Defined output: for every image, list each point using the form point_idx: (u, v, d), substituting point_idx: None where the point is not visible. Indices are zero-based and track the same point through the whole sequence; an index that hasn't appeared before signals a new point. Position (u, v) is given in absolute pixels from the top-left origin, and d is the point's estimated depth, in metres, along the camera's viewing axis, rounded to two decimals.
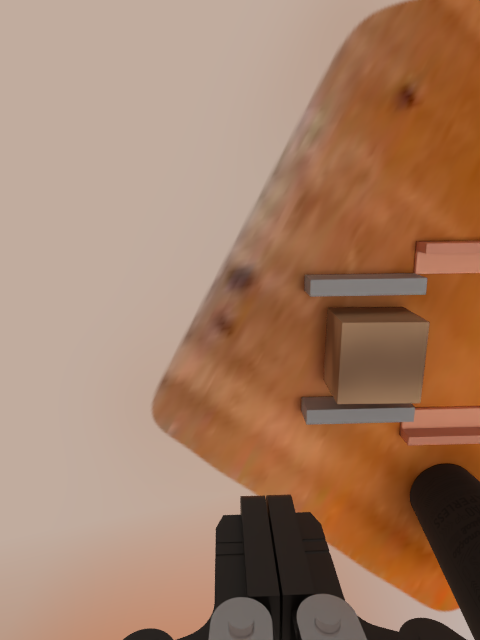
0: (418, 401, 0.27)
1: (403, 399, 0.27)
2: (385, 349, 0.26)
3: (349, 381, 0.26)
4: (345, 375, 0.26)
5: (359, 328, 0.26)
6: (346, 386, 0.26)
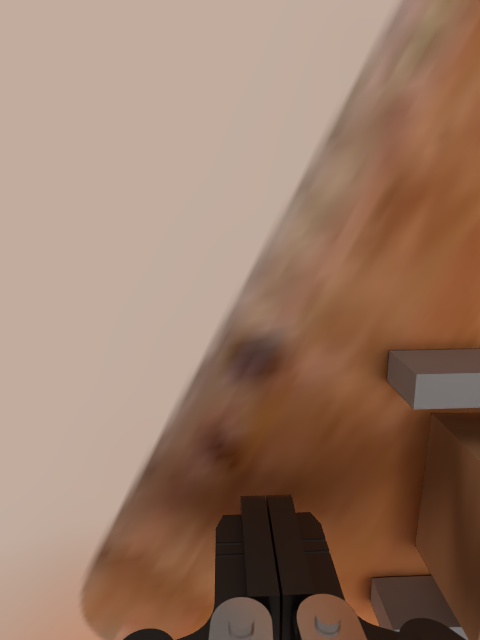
0: None
1: None
2: None
3: None
4: None
5: None
6: None
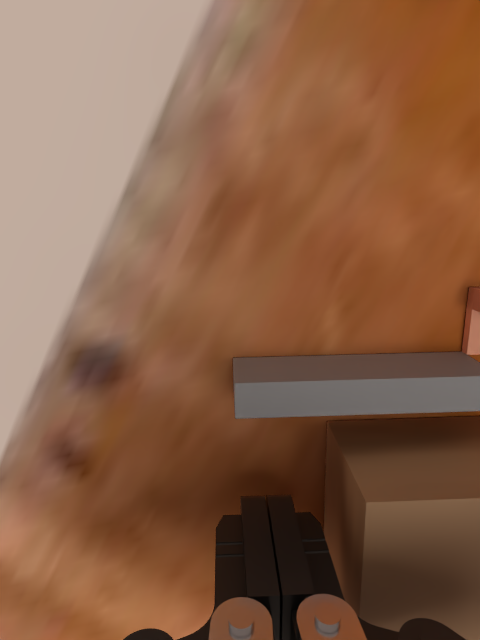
0: None
1: None
2: (470, 557, 0.11)
3: (384, 625, 0.11)
4: (374, 614, 0.11)
5: (408, 513, 0.10)
6: None
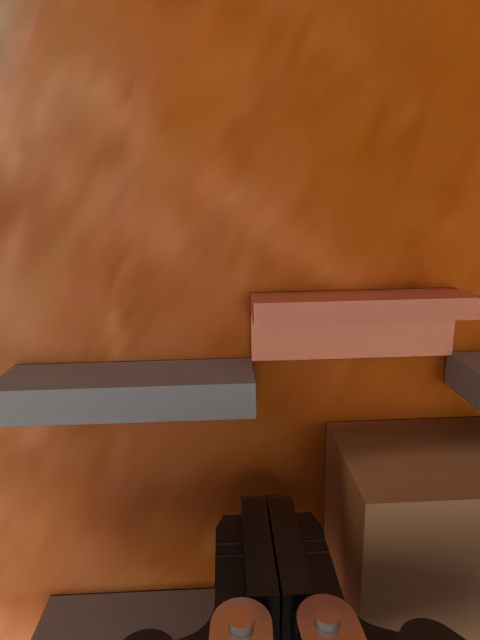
0: None
1: None
2: (470, 558, 0.11)
3: (384, 627, 0.11)
4: (374, 615, 0.11)
5: (407, 515, 0.10)
6: None
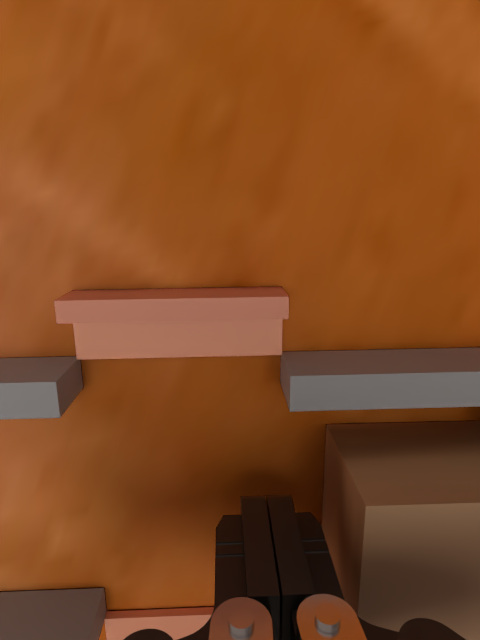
0: None
1: None
2: (468, 560, 0.11)
3: None
4: (372, 616, 0.11)
5: (407, 517, 0.10)
6: None
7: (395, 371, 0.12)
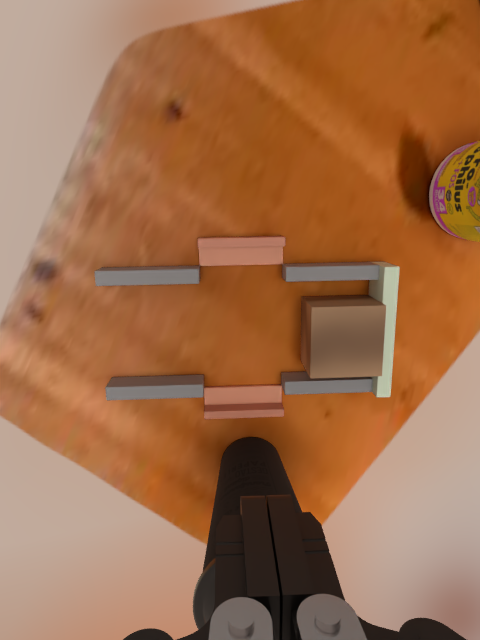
0: (380, 374, 0.31)
1: (367, 373, 0.31)
2: (349, 329, 0.30)
3: (319, 358, 0.31)
4: (316, 353, 0.30)
5: (326, 312, 0.30)
6: (317, 362, 0.31)
7: (326, 266, 0.31)
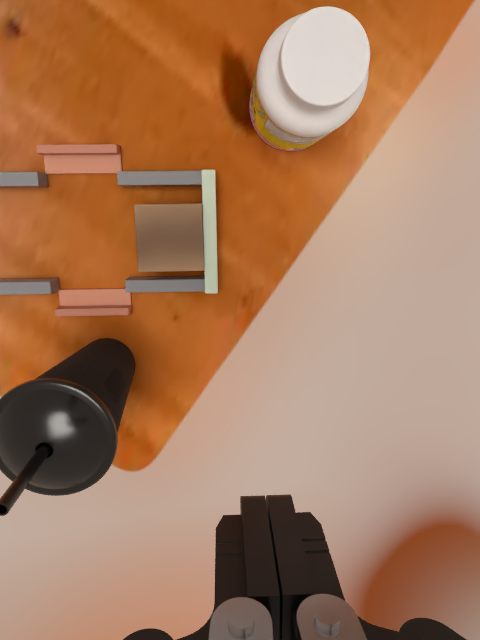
0: (202, 269, 0.35)
1: (190, 267, 0.34)
2: (170, 226, 0.34)
3: (145, 252, 0.34)
4: (141, 248, 0.34)
5: (147, 209, 0.33)
6: (143, 257, 0.34)
7: (154, 171, 0.34)
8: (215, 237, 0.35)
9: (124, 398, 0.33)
